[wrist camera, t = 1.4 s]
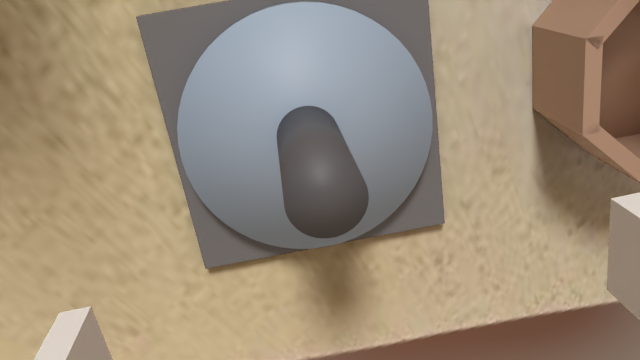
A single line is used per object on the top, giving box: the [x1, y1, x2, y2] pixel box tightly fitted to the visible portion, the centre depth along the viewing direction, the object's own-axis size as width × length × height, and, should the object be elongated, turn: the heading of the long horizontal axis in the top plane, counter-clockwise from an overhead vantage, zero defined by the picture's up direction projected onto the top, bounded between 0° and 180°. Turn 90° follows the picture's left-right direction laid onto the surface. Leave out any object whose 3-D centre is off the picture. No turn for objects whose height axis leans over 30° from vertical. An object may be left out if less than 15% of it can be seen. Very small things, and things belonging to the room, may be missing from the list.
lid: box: [177, 1, 433, 249], centre depth 25 cm, size 13×13×9 cm
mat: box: [136, 0, 445, 269], centre depth 29 cm, size 14×14×1 cm
